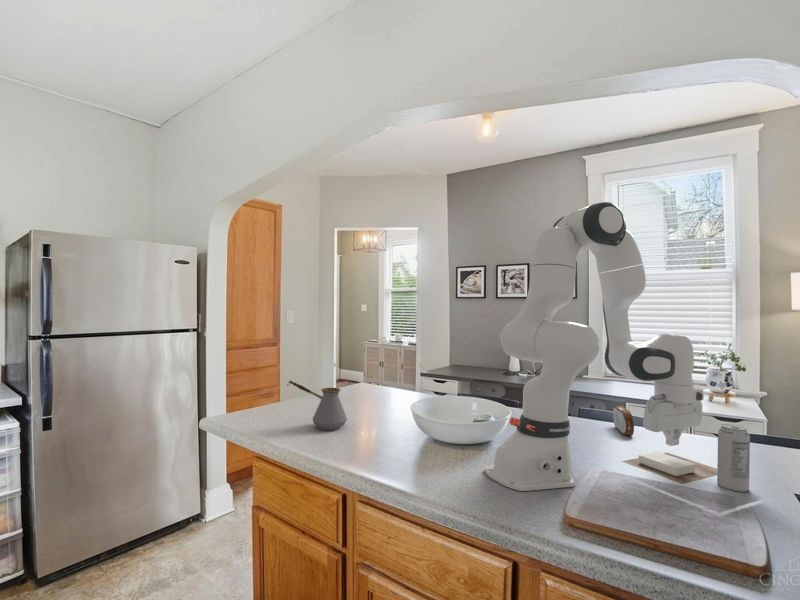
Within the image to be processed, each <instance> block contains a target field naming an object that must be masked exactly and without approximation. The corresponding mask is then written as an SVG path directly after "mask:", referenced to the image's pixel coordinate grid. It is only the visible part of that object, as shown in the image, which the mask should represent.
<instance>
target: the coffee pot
mask: <svg viewBox="0 0 800 600" xmlns="http://www.w3.org/2000/svg"><path fill="white" fill-rule="evenodd" d="M290 385H293V386H294V387H297V388H298V389H299V390H302V391H304V392H306V393H308V394H311V395H313V396H315V397H317V398H318V399H320V402H319V404H318V406H317V408H316V410H315V412H314V415H313V417H312V423H313V424H314V425H315V426H316V427H317V428H318V429H319V430H322V431H328V432H329V431H338V430H340V429H341V428H342V427H343V426H344V425H346V422H347V420H348V417H347V415H346V412H345V409H344V407H343V404H342V402H341V399H340V397H339V393H340V391H341V388H338V387H324V388H323V387H322V388H321V389H320V391H321V392H322V395H320V394H318V393H316V392H314V391H312V390H310V389H308V388H307V387H305V386H304V385H301V384H298V383H297V382H294V381H292V380H289V381H288V382H287V384H286V386H287V387H289V386H290Z"/></svg>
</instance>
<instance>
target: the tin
mask: <svg viewBox="0 0 800 600" xmlns="http://www.w3.org/2000/svg"><path fill="white" fill-rule="evenodd" d="M612 414H613V415H612V416H613V417H612V419H613V424H614V427H615V429H616V430H617V431H619V432H620V433H621V434H622V435H623V436H630V435H631V436H630V437H632V436H633V435H634V432H635V431H634V430H635V424H634V417H633V415H632V413H631V411H630V410H628V409H627V408H626V407H624V406H623V405H617V406H613V409H612Z"/></svg>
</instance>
